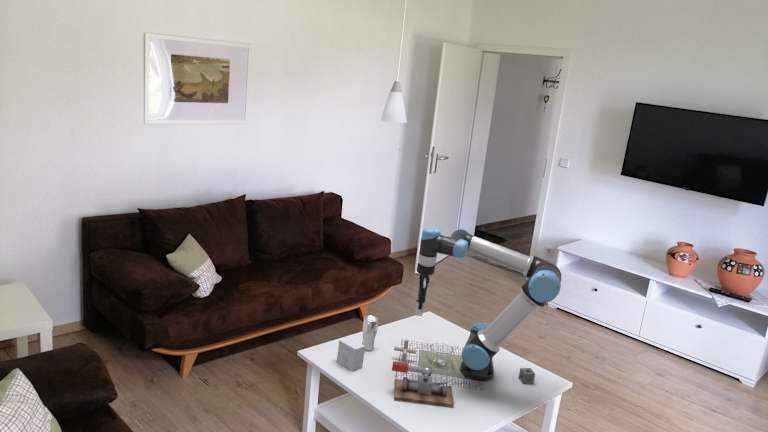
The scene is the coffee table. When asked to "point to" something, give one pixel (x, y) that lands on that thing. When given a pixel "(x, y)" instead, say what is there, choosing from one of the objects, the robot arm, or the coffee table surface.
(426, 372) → the valve handle
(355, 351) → the skincare box
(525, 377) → the dice cube
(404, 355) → the pipe connector
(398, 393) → the walnut board
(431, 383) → the valve body
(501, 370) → the coffee table surface
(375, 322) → the beer glass
